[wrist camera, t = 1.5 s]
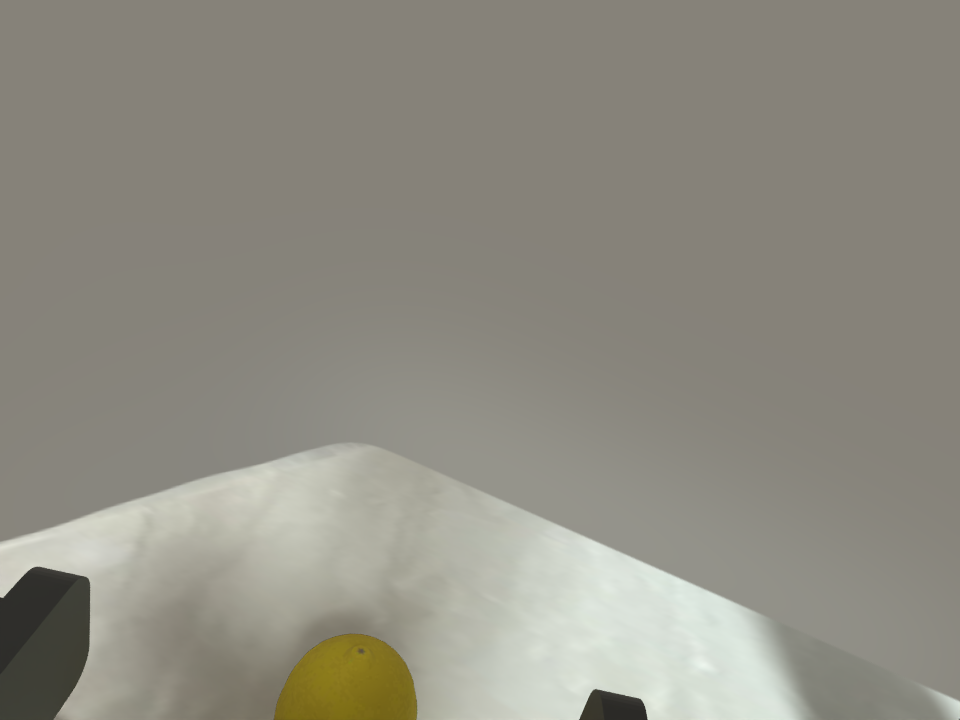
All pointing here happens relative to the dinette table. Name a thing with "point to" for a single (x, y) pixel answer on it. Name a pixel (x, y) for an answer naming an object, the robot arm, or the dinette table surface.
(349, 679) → the lemon
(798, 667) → the dinette table surface
